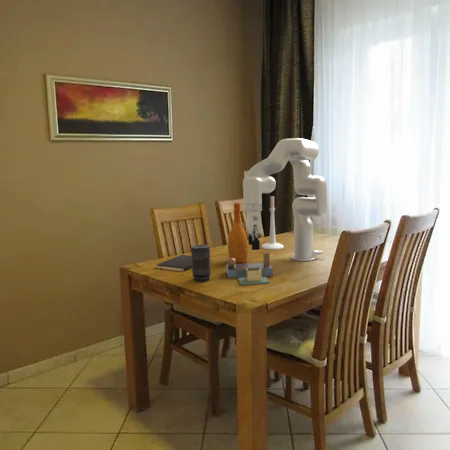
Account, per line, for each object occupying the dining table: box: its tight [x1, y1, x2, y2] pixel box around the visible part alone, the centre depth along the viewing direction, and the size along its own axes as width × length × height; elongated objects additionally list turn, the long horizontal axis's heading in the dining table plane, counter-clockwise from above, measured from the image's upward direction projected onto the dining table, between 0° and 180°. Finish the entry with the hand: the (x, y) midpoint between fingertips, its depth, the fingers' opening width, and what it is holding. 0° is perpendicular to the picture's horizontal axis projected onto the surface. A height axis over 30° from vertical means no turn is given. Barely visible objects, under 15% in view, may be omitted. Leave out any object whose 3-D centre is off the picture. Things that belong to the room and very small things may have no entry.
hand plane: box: [225, 251, 274, 279], centre depth 202 cm, size 20×10×10 cm, turn 96°
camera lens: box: [190, 244, 211, 283], centre depth 193 cm, size 8×8×15 cm
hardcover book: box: [156, 254, 192, 272], centre depth 222 cm, size 16×23×2 cm
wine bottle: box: [227, 202, 249, 264], centre depth 223 cm, size 10×10×30 cm
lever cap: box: [245, 267, 263, 282], centre depth 190 cm, size 6×5×5 cm
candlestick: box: [260, 195, 284, 251], centre depth 255 cm, size 13×13×30 cm
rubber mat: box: [237, 276, 270, 286], centre depth 190 cm, size 12×8×1 cm, turn 96°
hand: (253, 247), depth 188 cm, fingers open, 9 cm apart
